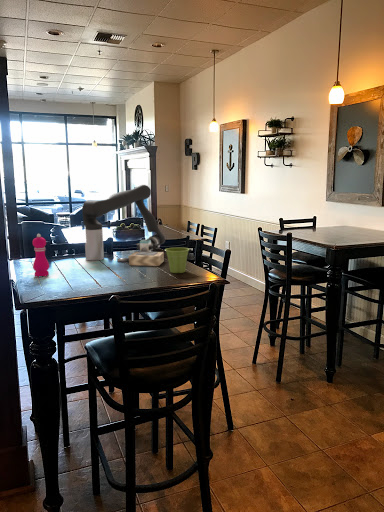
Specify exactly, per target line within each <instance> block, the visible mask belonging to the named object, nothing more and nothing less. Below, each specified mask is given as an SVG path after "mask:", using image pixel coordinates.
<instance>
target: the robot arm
mask: <svg viewBox="0 0 384 512" xmlns="http://www.w3.org/2000/svg"><path fill="white" fill-rule="evenodd" d="M151 195H152V189H151V188H150V187H149V186H148V185H146V184H141V185H139V186H136V187H134V188H132V189H128V190H122V191H119V192H116V193H112V194H111V195H110V196H109V197H108V198H107V199H101V200H91V199H90V200H85V201H84V202H83V204H82V219H83V224H84V226H85V227H84V229H85V243H84V249H85V251H84V252H85V261H102V260H104V259H105V258H104V237H103V236H104V235H103V224H102V223H100V222H99V221H98V220H97V218H100V217H103V216H104V215H106V214H108V213H110V212H112V211H116V210H119V209H123V208H125V207H127V206H130V205H132V204H133V203H135V205H136V207H137V209H138V211H139V213H140V214H141V216H142V219H143V221H144V223H145V226H146V229H147V232H148V233H156V234H154V235H150V236H149V237H148V238H147V239H146V240H151V246H149V250H151V252H154V250H159V249H161V248H160V246H161V245H163V244H165V242H166V237H165V236H164V234H163V232H162V231H161V229H160V228H159V226H158V223H157V220H156V218H155V216H154V214H153V213H152V212H151V211H150V210H149V209H148V208H147V206H146V205H145V203H144V200H147V199H149V198H150V197H151ZM136 247H137V248H136V249H137V250H139V251H140V242H139V243H138V242H137V244H136Z"/></svg>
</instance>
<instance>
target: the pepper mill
mask: <svg viewBox="0 0 384 512" xmlns="http://www.w3.org/2000/svg"><path fill="white" fill-rule="evenodd" d="M46 245H47V240H46V238H44V237H43V236H42V235H41V234H40V233H37V234H36V237H35V238H33V240H32V246H33V247H34V248H33V249H34V250H33V251H35V258H34V261H33V264H32V265H33V266H32V269H33V270H34V271H35V272H34V276H38V277H37V278H40V277H39V276H45V277H48V276H49V275H50V273H49V268H50V264H49V261H48V259H47V257H46V250H47V249H46V247H45V246H46ZM47 275H48V276H47Z"/></svg>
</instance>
